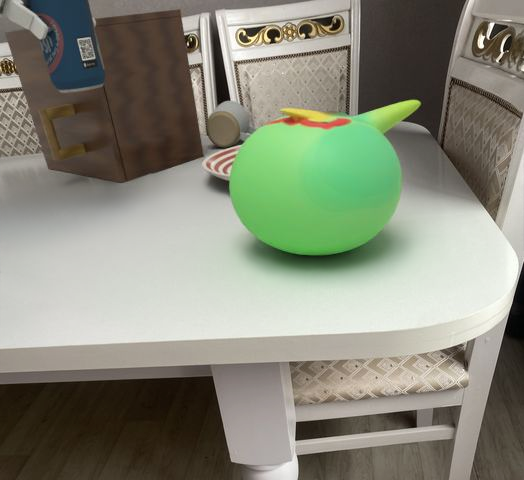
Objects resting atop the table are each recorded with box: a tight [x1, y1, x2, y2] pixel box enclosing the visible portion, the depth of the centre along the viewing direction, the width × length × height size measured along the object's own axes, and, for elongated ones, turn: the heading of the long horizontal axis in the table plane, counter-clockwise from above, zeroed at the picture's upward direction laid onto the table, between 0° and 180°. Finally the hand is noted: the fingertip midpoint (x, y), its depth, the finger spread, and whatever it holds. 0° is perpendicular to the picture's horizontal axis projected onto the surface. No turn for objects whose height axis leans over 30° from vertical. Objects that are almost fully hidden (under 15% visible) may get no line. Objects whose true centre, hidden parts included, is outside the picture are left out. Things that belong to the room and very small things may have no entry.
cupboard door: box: [4, 28, 127, 184], centre depth 90 cm, size 7×26×24 cm, turn 48°
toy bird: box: [228, 99, 422, 256], centre depth 54 cm, size 18×17×15 cm
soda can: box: [28, 0, 106, 93], centre depth 65 cm, size 7×7×12 cm
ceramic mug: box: [205, 100, 258, 149], centre depth 105 cm, size 11×8×8 cm
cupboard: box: [11, 8, 205, 182], centre depth 98 cm, size 18×26×24 cm
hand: (70, 31), depth 65 cm, fingers closed on soda can, 7 cm apart
